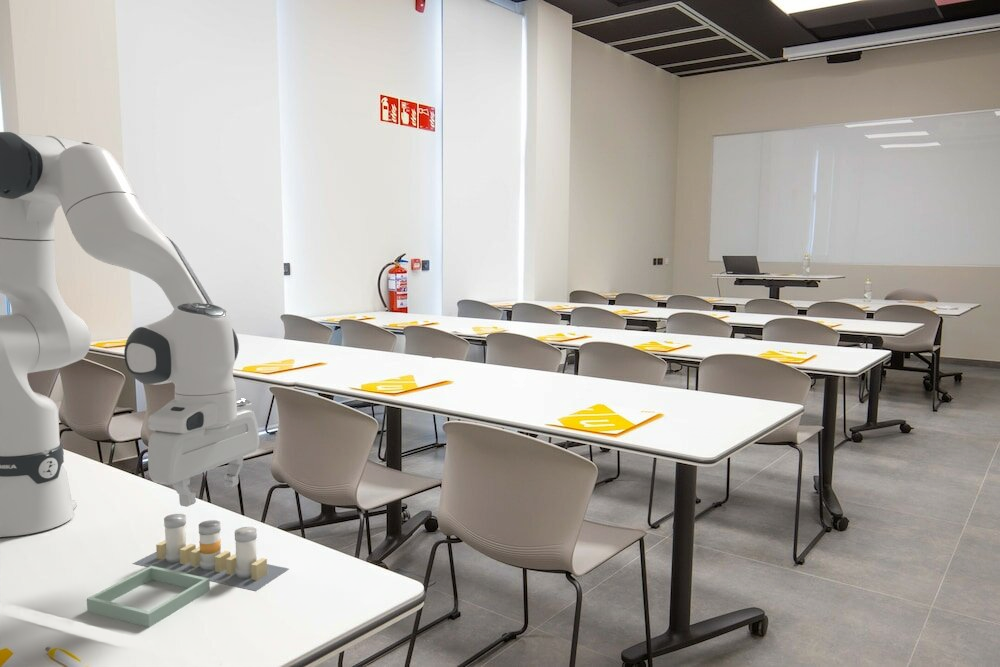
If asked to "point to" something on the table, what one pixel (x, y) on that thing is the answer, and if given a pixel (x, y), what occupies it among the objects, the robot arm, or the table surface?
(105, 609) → the parts tray
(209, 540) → the marked fuse
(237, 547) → the outer fuse
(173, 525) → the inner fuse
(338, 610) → the table surface
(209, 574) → the fuse holder
